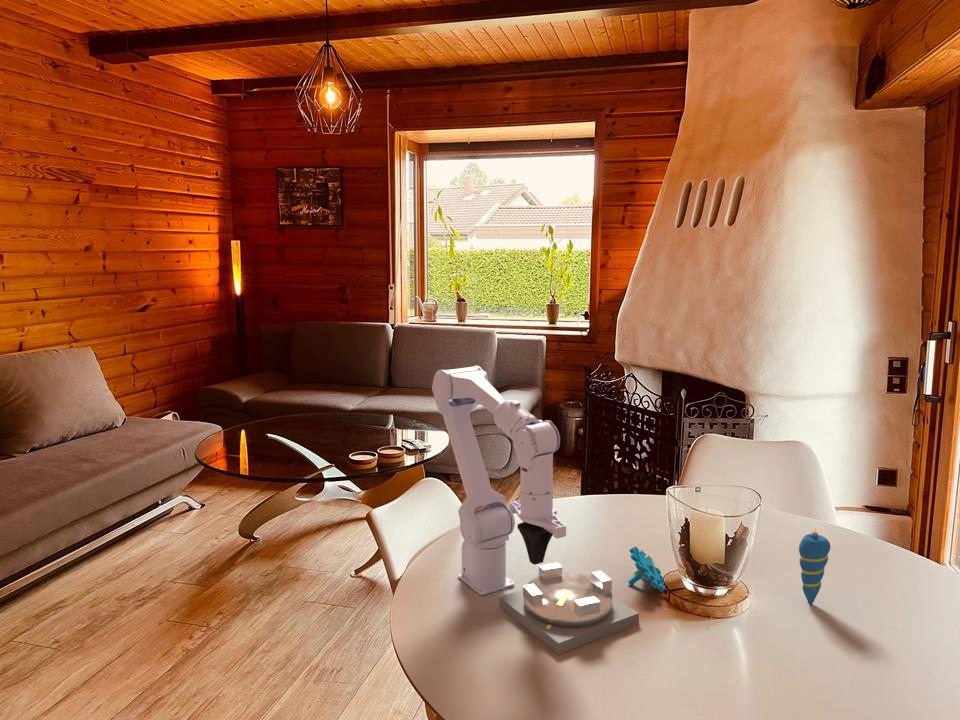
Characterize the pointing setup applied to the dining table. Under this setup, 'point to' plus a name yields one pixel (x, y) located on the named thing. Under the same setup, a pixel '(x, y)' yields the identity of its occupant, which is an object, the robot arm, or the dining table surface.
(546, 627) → the base plate
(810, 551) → the ornament
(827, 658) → the dining table surface
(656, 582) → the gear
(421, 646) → the dining table surface
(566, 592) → the lugged metal disc
